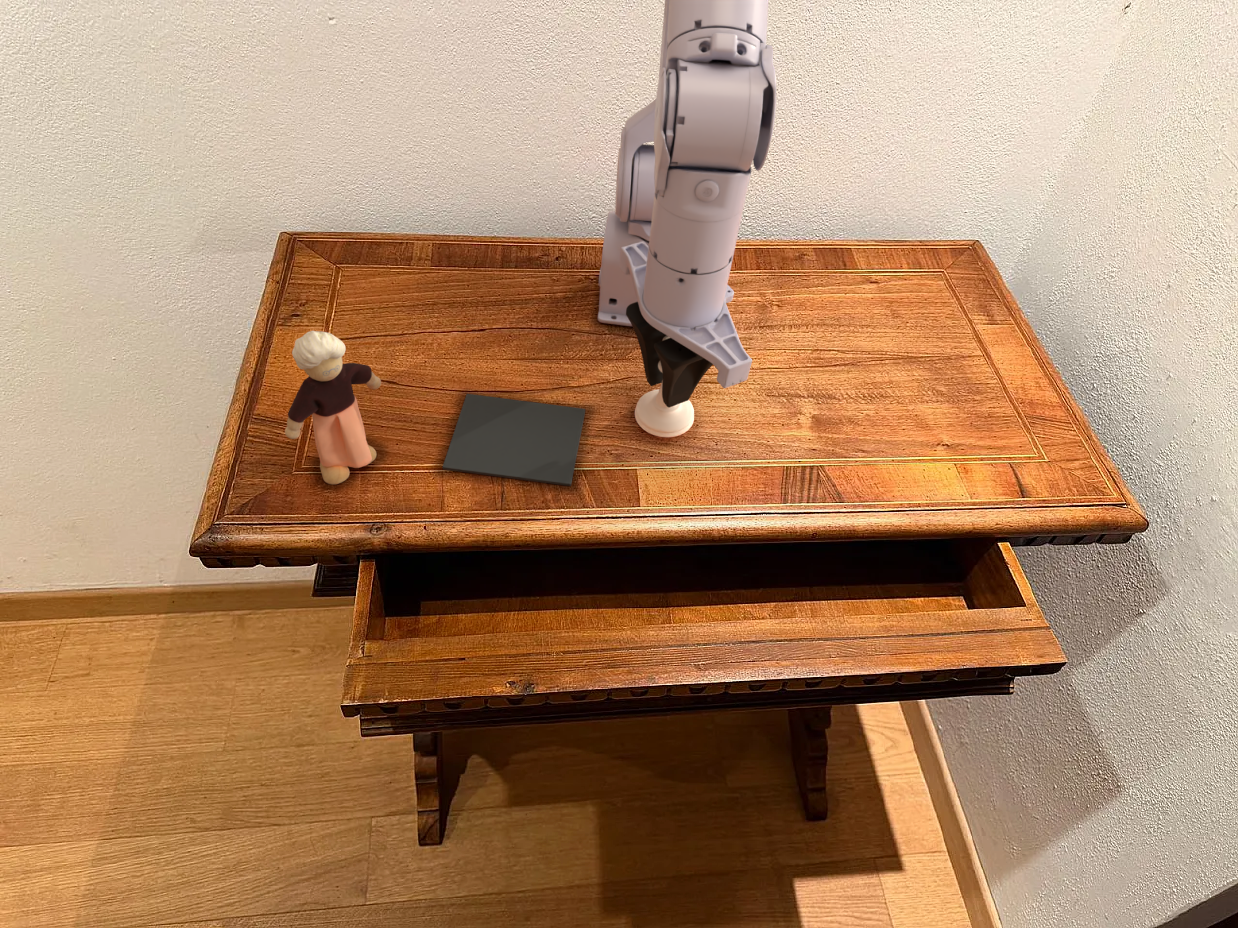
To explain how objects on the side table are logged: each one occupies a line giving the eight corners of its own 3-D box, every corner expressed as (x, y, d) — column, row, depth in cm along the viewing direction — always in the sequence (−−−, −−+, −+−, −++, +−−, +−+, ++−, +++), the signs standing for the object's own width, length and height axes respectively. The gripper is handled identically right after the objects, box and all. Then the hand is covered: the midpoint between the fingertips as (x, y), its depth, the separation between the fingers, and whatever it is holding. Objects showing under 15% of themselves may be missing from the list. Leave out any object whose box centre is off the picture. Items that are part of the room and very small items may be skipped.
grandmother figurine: (335, 503, 59) (291, 381, 49) (297, 479, 60) (247, 356, 50) (405, 438, 63) (378, 315, 53) (369, 418, 64) (336, 293, 54)
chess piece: (683, 444, 64) (701, 352, 56) (626, 426, 65) (635, 333, 57) (701, 404, 67) (719, 311, 59) (646, 387, 68) (657, 293, 60)
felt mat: (442, 469, 61) (442, 467, 61) (467, 395, 66) (466, 393, 66) (570, 486, 61) (570, 484, 61) (585, 411, 66) (585, 408, 66)
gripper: (804, 295, 51) (761, 435, 61) (683, 179, 58) (663, 321, 69) (713, 327, 48) (684, 467, 59) (599, 201, 56) (591, 345, 66)
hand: (668, 390), depth 64 cm, fingers closed on chess piece
